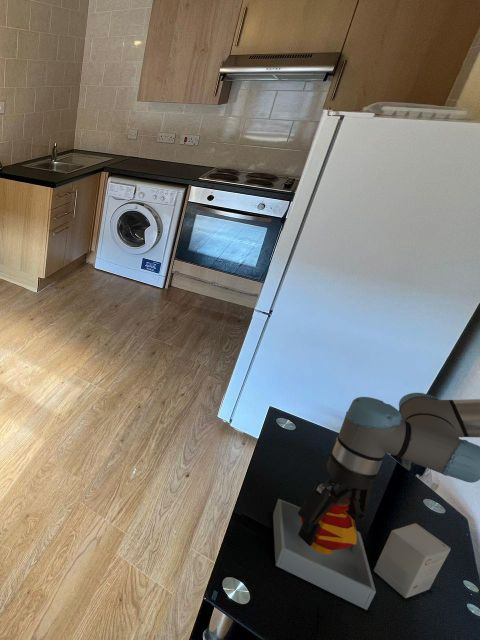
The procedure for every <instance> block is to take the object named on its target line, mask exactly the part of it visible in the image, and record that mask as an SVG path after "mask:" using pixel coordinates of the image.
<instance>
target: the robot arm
mask: <svg viewBox="0 0 480 640" xmlns="http://www.w3.org/2000/svg"><path fill="white" fill-rule="evenodd" d="M462 438H480V398H469V399H467V398H466V399H465V398H464V399H439V398H438V397H436V396H434V395H431V394H427V393H424V392H411V393H407V394H405V395H403V396H402V397H401V398H400V399H399V402H398V409H397V408H396V407H395V406H394V405H392V404H390V403H386V402H384V401H383V400H381V399H377V398H374V397H370V396H359V397H356V398H354V399H353V400H352V402H351V404H350V406H349V408H348V410H347V411H346V412H345V416H344V419H343V422H342V425H341V427H340V430H339V432H338V435H337V437H336V438H335V443H334V446H333V448H332V453H331V454H330V455H329V457H328V461H327V463H326V469H327V471H328V473H329V478H328V479H327V480H326V481H325V483H321V481H316V482H315V483H314V485H313V488H312V490H311V492H310V494H309V495H308V496H307V498H306V500H305V501H304V502H305V503H304V502H303V504H302V506H300V508H301V509H300V510H299V512H298V515H299V516H300V517H301V518H302V519H304V521H303V524H302V526H301V529H300V532H299V534H298V535H299V536H300V537H301V538H302V539H303V540H304V541H305V542H306V543H307V544H308V545H309V546H312V544H313V541H314V539H315V536H316V534H317V532H318V529H319V527H320V524H319V523H318V522H319V521H320V520H321V519H322V518H323V517H324V516H325V515H326V514H327V512H328V511H329V510H330V509H331V508H332V507H333V506H334V505H335V504H337V505H338V504H340V503H341V502H342V501H343V499H344V498H349V501H350V504H349V505H348V508H349V510H348V511H345V512H346V513H347V514H348V515H349V516H351V518H352V519H353V520H354V521H355V522H356V521H357V518H358V519H359V520H361V521H362V520H364V519H365V518H366V517H365V515H364V514H367V513H368V512H369V507H370V503H371V495H372V490H373V488H374V486H375V484H376V483H375V478H376V477H377V474H378V473H379V470H380V468H381V466H382V463H383V461H384V458H385V456H386V454H389V455H391V456H394V457H397V458H399V459H403V460H405V461H408V462H410V463H413V464H416V465H418V466H420V467H424V468H426V469H429V470H431V471H434V472H437V473H439V474H441V475H442V476H445V477H450V478H454V479H456V480H460V481H463V482H465V483H469V484H470V483H471V484H474V483H477V482H479V481H480V445H477V444H475V443H473V442H470V441H468V440H467V439H462ZM330 493H331V494H332V495H333V496H335V497H336V499H335V498H333V497H332V496H331V494H330ZM353 524H354V523H353Z"/></svg>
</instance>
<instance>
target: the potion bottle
mask: <svg viewBox="0 0 480 640" xmlns="http://www.w3.org/2000/svg"><path fill="white" fill-rule="evenodd" d="M330 494H331V493H330ZM331 496H332V497H333V498H335V499H336V497H335V496H333V495H332V494H331ZM304 503H305V501H303V504H304ZM349 504H350V501H349V498H344V499H343V501H342V502H341V503H340V504H338V505H337V504H335V505H334V506H333V507H332V508H331V509H330V510H329V511H328V512H327V514H326V515H325V516H324V517H323V518H322V519H321V520H320V521H319V522H318V523H319V524H320V527H319V529H318V532H317V534H316V536H315V539H314V541H313V544H312V546H311V547H312V548H313V549H314V550H316V551H318V552H320V553H322V554H324V555H329V554H333V551H332V550H338V549H344V548H350V547H351V546H352V545H353V544H355V545H356V541H357V533H356V531H357V528H356V521H354V520H353V519H352V518H351V516H349V515H348V514H347V513H346V512H345V511H348V510H349V508H348V505H349ZM303 521H304V519H302V518H301V526H302V524H303ZM353 523H354V524H353Z"/></svg>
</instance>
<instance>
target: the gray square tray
mask: <svg viewBox="0 0 480 640" xmlns="http://www.w3.org/2000/svg"><path fill="white" fill-rule="evenodd" d="M300 509H301V506H298V505H295V504H293V503H291V502H288V501H285V500H283V499H280V498H278V499H277V502H276V505H275V508H274V510H273V514H272V521H273V523H272V524H273V541H274V543H273V544H274V559H275V560H274V561H275V562H274V563H275V567H277V568H279V569H282V570H284V571H285V572H287V573H290V574H292V575H294V576H296V577H298V578H300V579H302V580H304V581H307V582H308V583H310V584H312V585H314V586H317V588H318V587H319V588H320V589H322V590H324V591H327V592H329V593H331V594H333V595H335V596H337V597H339V598H342V599H343V600H345V601H347V602H349V603H351V604H353V605H355V606H357V607H360V608H362V609H364V610H365V611H368V609H369V607H370V605H371V603H372V601H373V599H374V597H375V595H376V594H377V591H376V587H375V583H374V579H373V575H372V571H371V568H370V564H369V561H368V556H367V553H366V550H365V545H364V542H363V538H362V534H361V532H360V531H358V530H356V533H357V541H356V545H355V544H353V545H352V546H351V547H350V548H344V549H338V550H332V551H333V554H329V555H324V554H322V553H320V552H318V551H316V550H314V549H313V548H312V547H311V546H309V545H308V544H307V543H306V542H305V541H304V540H303V539H302V538H301V537H300V536H299V535H298V534H299V532H300V529H301V517H300V516H299V515H298V512H299V510H300Z"/></svg>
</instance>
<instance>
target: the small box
mask: <svg viewBox="0 0 480 640" xmlns="http://www.w3.org/2000/svg"><path fill="white" fill-rule="evenodd" d="M450 551H451V547H450V546H448V545H447V544H446V543H444V542H443V541H442V540H440V539H439V538H438V537H436V536H435V535H433V534H432V533H431V532H429V531H428V530H426V529H425V528H424V527H422V526H421V525H419V524H418V523H416V522H414V523H411V524H408V525H404V526H401V527H398V528H394V529H392V530H391V531H390V533H389V535H388V538H387V540H386V542H385V544H384V546H383V548H382V551H381V553H380V555H379V557H378V560H377V562H376V564H375V566H374V568H373V572H374V573H375V574H377V575H378V576H379V577H380V578H381V579H382V580H383V581H384V582H386V584H388V585H389V586H390V587H391V588H393V589H394V590H395V591H396V592H397V593H398V594H399V595H401V596H402V597H403V598H404V599H408V598H410V597H413V596H416V595H418V594H422V593H424V592H426V591H428V590H430V589H431V587H432V585H433V583H434V582H435V580H436V578H437V575H438V573H439V572H440V570H441V568H442V566H443V565H444V562H445V561H446V559H447V557H448V556H449V553H450Z"/></svg>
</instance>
